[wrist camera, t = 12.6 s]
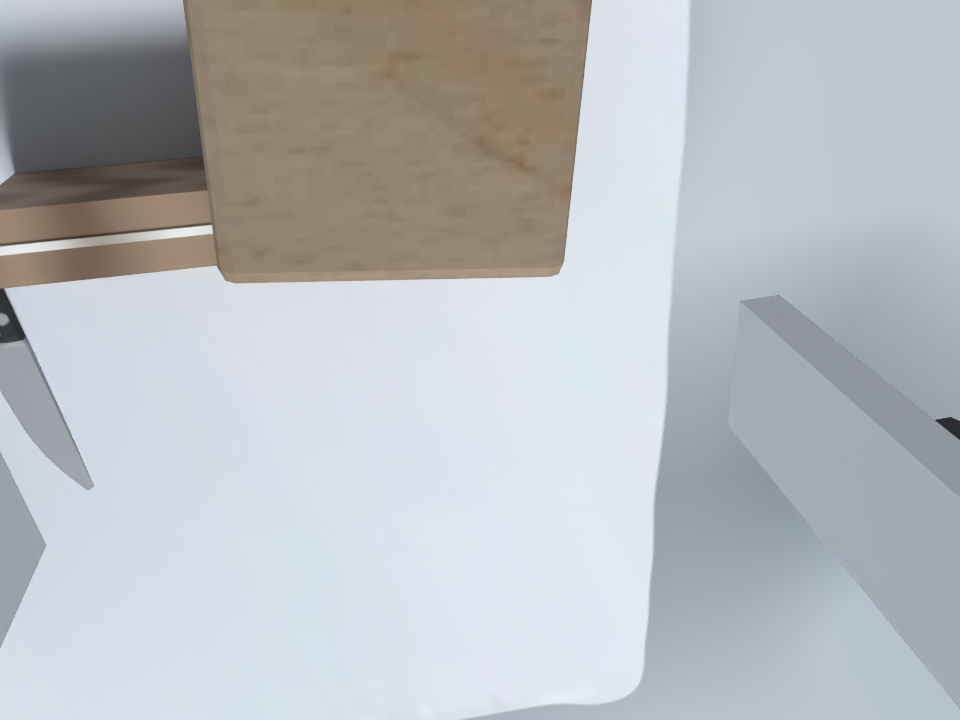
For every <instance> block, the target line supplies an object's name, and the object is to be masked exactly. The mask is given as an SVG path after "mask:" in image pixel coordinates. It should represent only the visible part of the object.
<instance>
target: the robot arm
mask: <svg viewBox="0 0 960 720" xmlns="http://www.w3.org/2000/svg"><path fill="white" fill-rule="evenodd" d="M728 425H729V426H730V428H731V429H732V430H733V432H734V433H735V434H736V435H737V436H738V438H739V439H740V440H741V441H742V443H743V444H744V445H745V446H746V447H747V449H748V450H749V451H750V452H751V454H752V455H753V456H754V457H755V458H756V460H757V461H758V462H759V463H760V465H761V466H762V467H763V468H764V469H765V471H766V472H767V473H768V474H769V476H770V477H771V478H772V479H773V481H774V482H775V483H776V484H777V485H778V487H779V488H780V489H781V490H782V492H783V493H784V494H785V495H786V496H787V498H788V499H789V500H790V501H791V503H792V504H793V505H794V506H795V507H796V509H797V510H798V511H799V512H800V514H801V515H802V516H803V517H804V519H805V520H806V521H807V522H808V523H809V524H810V526H811V527H812V528H813V530H814V531H815V532H816V533H817V534H818V536H819V537H820V538H821V539H822V541H823V542H824V543H825V544H826V545H827V547H828V548H829V549H830V550H831V552H832V553H833V554H834V555H835V557H836V558H837V559H838V560H839V561H840V563H841V564H842V565H843V566H844V568H845V569H846V570H847V571H848V572H849V574H850V575H851V576H852V577H853V579H854V580H855V581H856V582H857V583H858V585H859V586H860V587H861V588H862V590H863V591H864V592H865V593H866V594H867V596H868V597H869V598H870V599H871V601H872V602H873V603H874V604H875V606H876V607H877V608H878V609H879V610H880V612H881V613H882V614H883V615H884V617H886V619H887V620H888V621H889V623H890V624H891V625H892V626H893V628H894V629H895V630H896V631H897V632H898V634H899V635H900V636H901V637H902V638H903V639H904V641H905V642H906V643H907V645H908V646H909V647H910V648H911V650H912V651H913V652H914V653H915V654H916V656H917V657H918V658H919V659H920V661H922V663H923V664H924V665H925V667H926V668H927V669H928V670H929V672H930V673H931V674H932V675H933V677H934V678H935V679H936V680H937V681H938V683H939V684H940V685H941V686H942V688H943V689H944V690H945V691H946V692H947V694H948V695H949V696H950V697H951V698H952V700H953V701H954V702H955V703H956V705H957V706H958V707H959V708H960V421H958V420H956V419H953V418H952V417H949V418H943V419H938V420H934V419H932V418H931V417H930V416H929V415H928V414H926V413H925V412H924V411H923V410H921V409H920V408H919V407H918V406H917V405H915V404H914V403H913V402H912V401H910V400H909V399H908V398H907V397H905V396H904V395H903V394H902V393H900V392H899V391H898V390H897V389H895V388H894V387H893V386H892V385H890V384H889V383H888V382H886V381H885V380H884V379H883V378H882V377H880V376H879V375H878V374H876V373H875V372H874V371H873V370H872V369H870V368H869V367H868V366H867V365H865V364H864V363H863V362H862V361H861V360H859V359H858V358H857V357H856V356H854V355H853V354H852V353H851V352H849V351H848V350H847V349H846V348H844V347H843V346H842V345H841V344H839V343H838V342H837V341H836V340H834V339H833V338H832V337H831V336H829V335H828V334H827V333H826V332H824V331H823V330H822V329H821V328H819V327H818V326H817V325H816V324H815V323H813V322H812V321H811V320H810V319H808V318H807V317H806V316H805V315H803V314H802V313H801V312H800V311H798V310H797V309H796V308H795V307H793V306H792V305H791V304H789V303H788V302H787V301H786V300H785V299H783V298H782V297H781V296H780V295H776V296H770V297H764V298H757V299H751V300H745V301H740V306H739V316H738V326H737V336H736V346H735V357H734V366H733V377H732V387H731V397H730V407H729V418H728ZM45 547H46V544H45V542H44V540H43V538H42V536H41V534H40V532H39V530H38V527H37V525H36V523H35V521H34V519H33V517H32V515H31V513H30V511H29V509H28V507H27V505H26V503H25V501H24V499H23V497H22V495H21V493H20V491H19V489H18V487H17V485H16V483H15V481H14V479H13V477H12V475H11V473H10V470H9V468H8V466H7V464H6V462H5V460H4V458H3V456H2V454H1V452H0V647H1V645H2V643H3V641H4V638H5V636H6V634H7V632H8V629H9V627H10V625H11V623H12V621H13V618H14V616H15V614H16V612H17V609H18V607H19V605H20V603H21V600H22V598H23V596H24V594H25V591H26V589H27V587H28V585H29V582H30V580H31V578H32V576H33V574H34V571H35V569H36V567H37V565H38V562H39V560H40V558H41V556H42V553H43V551H44V549H45Z"/></svg>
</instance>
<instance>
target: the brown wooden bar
mask: <svg viewBox="0 0 960 720" xmlns="http://www.w3.org/2000/svg"><path fill="white" fill-rule="evenodd" d="M216 265H217V261H216V253H215V246H214V238H213V230H212V222H211V214H210V207H209V199H208V191H207V183H206V175H205V167H204V160H203V157H194V158H183V159H172V160H161V161H150V162H139V163H128V164H117V165H106V166H96V167H85V168H74V169H63V170H52V171H41V172H30V173H19V174H14V175H12V176H11V177H10V178H9V179H7V180H6V181H5V182H3V183H2V184H1V185H0V289H2V288H11V287H20V286H30V285H39V284H48V283H58V282H67V281H76V280H85V279H95V278H104V277H113V276H123V275H132V274H141V273H151V272H160V271H169V270H178V269H188V268H197V267H206V266H216Z"/></svg>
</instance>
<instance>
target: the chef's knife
mask: <svg viewBox="0 0 960 720" xmlns="http://www.w3.org/2000/svg"><path fill="white" fill-rule="evenodd" d="M0 334H1V337H0V391H1V393H2V394H3V396H4V398H5V399H6V401H7V402H8V404H9V406H10V407H11V409H12V410H13V412H14V414H15V415H16V417H17V418H18V420H19V422H20V423H21V425H22V426H23V428H24V430H25V431H26V433H27V434H28V435H29V437H30V438H31V439H32V440H33V441H34V442H35V444H36V445H37V446H38V447H39V448H40V450H41V451H42V452H43V453H44V454H45V455H46V456H47V457H48V458H49V459H50V460H51V461H52V462H53V463H54V464H55V465H56V466H58V467H59V468H60V469H61V470H62V471H63V472H64V473H65V474H67V475H68V476H69V477H71V478H72V479H73V480H75V481H76V482H77V483H79V484H80V485H81V486H83V487H84V488H85V489H87V490H89V489H91V488H92V487H94V485H93V482H92V480H91V478H90V476H89V473H88V471H87V469H86V467H85V465H84V462H83V460H82V458H81V455H80V453H79V451H78V449H77V446H76V444H75V442H74V440H73V438H72V435H71V433H70V431H69V429H68V427H67V424H66V422H65V420H64V418H63V416H62V413H61V411H60V409H59V407H58V405H57V403H56V400H55V398H54V396H53V394H52V392H51V389H50V387H49V385H48V383H47V381H46V379H45V376H44V374H43V372H42V370H41V368H40V366H39V363H38V361H37V359H36V357H35V355H34V352H33V350H32V348H31V346H30V344H29V342H28V340H27V338H26V337H25V335H24V333H23V331H22V329H21V327H20V325H19V322H18V321H17V319H16V317H15V315H14V313H13V311H12V309H11V307H10V305H9V302H8V300H7V298H6V296H5V294H4V292H3V290H2V289H0Z"/></svg>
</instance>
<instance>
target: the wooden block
mask: <svg viewBox="0 0 960 720" xmlns="http://www.w3.org/2000/svg"><path fill="white" fill-rule="evenodd" d="M183 3H184V11H185V19H186V27H187V35H188V42H189V50H190V58H191V66H192V74H193V82H194V89H195V97H196V105H197V113H198V121H199V128H200V136H201V144H202V152H203V160H204V167H205V175H206V183H207V191H208V199H209V207H210V214H211V222H212V230H213V238H214V246H215V253H216V261H217V267H218V269H219V271H220V272H221V274H222V276H223V277H224V279H225V280H226V281H229V282H233V283H268V282H317V281H365V280H414V279H462V278H511V277H550V276H553V275H556V274H559V271H560V269H561V267H562V264H563V262H564V255H565V246H566V237H567V227H568V218H569V209H570V199H571V190H572V181H573V172H574V162H575V153H576V144H577V134H578V125H579V116H580V107H581V97H582V88H583V79H584V69H585V60H586V51H587V42H588V32H589V23H590V14H591V4H592V0H183Z"/></svg>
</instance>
